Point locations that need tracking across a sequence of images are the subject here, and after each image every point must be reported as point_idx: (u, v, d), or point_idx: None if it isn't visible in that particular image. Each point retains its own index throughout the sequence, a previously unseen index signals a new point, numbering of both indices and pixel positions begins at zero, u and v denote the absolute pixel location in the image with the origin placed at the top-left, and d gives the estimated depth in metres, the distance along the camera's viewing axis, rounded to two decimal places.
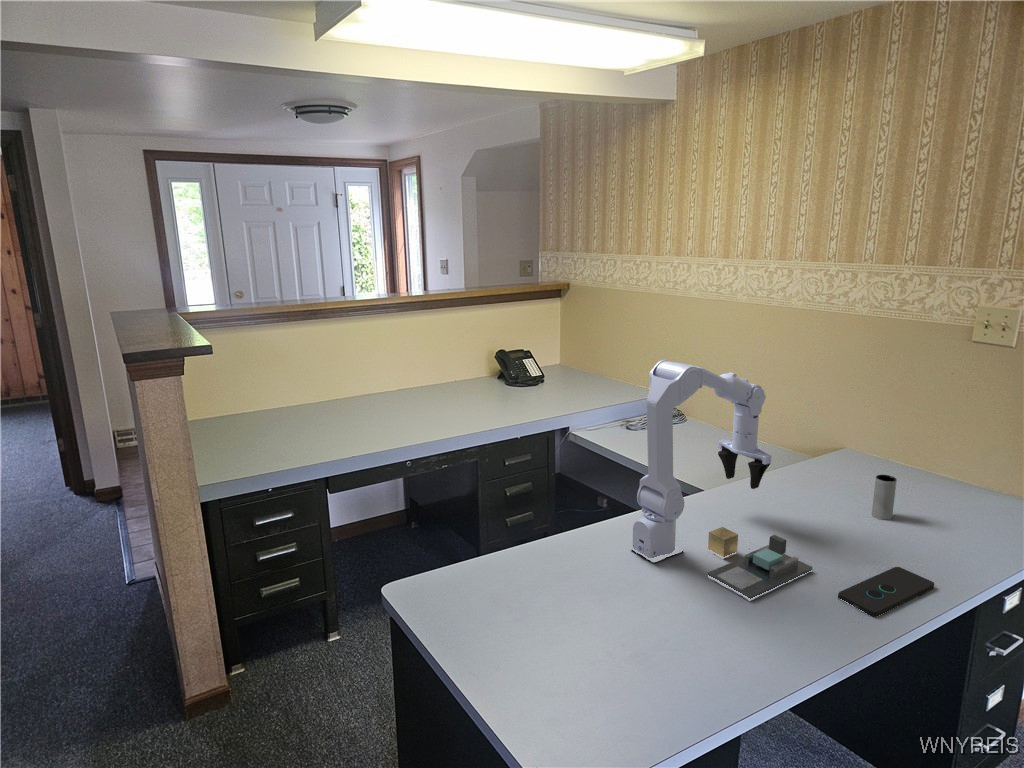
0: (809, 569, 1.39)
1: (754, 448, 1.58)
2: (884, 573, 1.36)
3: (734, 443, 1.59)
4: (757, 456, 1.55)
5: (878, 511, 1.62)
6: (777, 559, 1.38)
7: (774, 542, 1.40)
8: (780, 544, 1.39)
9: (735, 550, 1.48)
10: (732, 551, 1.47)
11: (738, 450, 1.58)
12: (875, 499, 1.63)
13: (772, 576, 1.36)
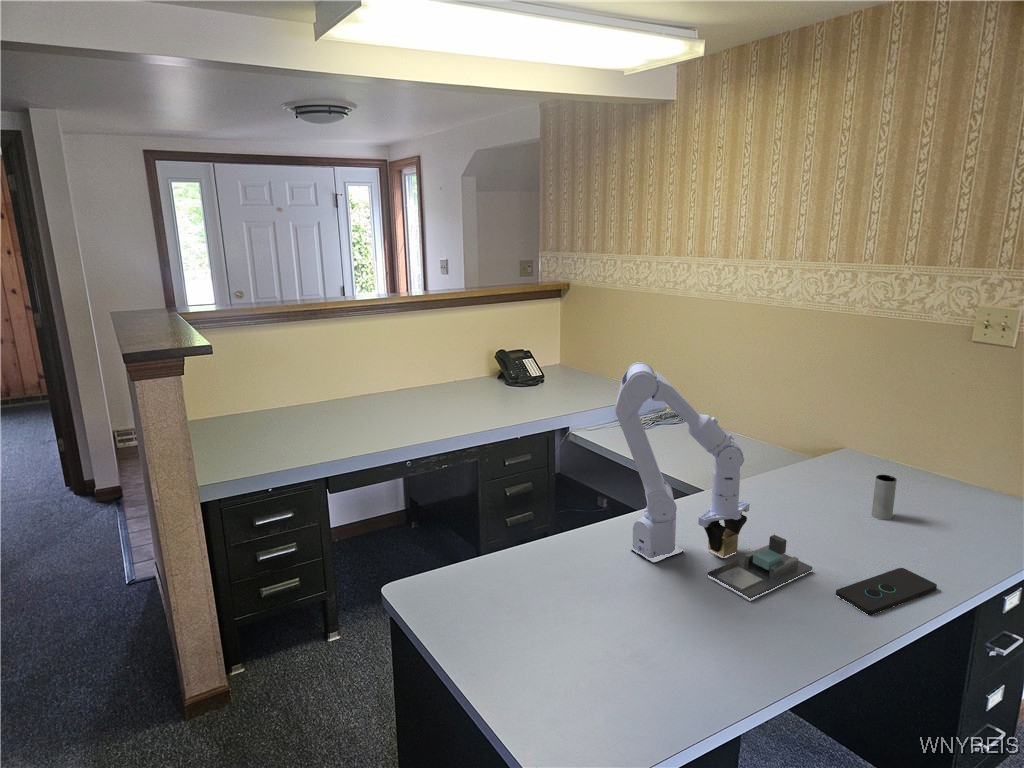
0: (809, 569, 1.39)
1: (717, 511, 1.44)
2: (886, 573, 1.36)
3: None
4: None
5: (878, 511, 1.62)
6: (777, 559, 1.38)
7: (774, 542, 1.40)
8: (780, 544, 1.39)
9: (736, 550, 1.48)
10: (732, 551, 1.47)
11: None
12: (875, 499, 1.63)
13: (772, 576, 1.36)
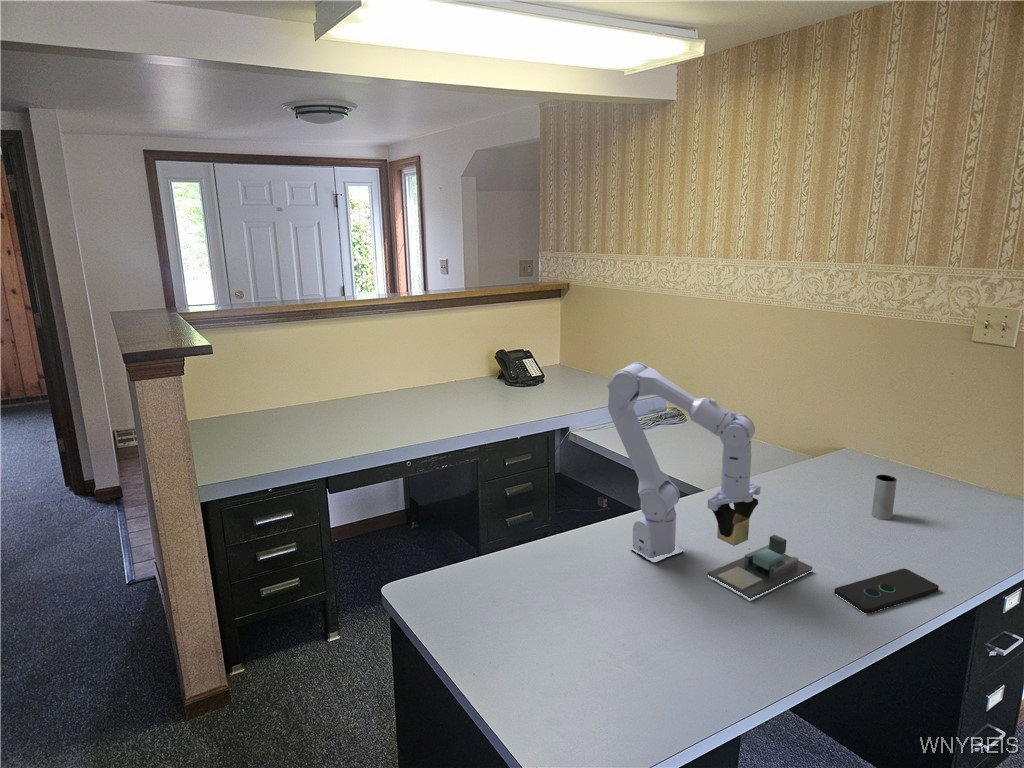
0: (809, 569, 1.39)
1: (727, 493, 1.36)
2: (888, 573, 1.36)
3: None
4: None
5: (878, 511, 1.62)
6: (777, 559, 1.38)
7: (774, 542, 1.40)
8: (780, 544, 1.39)
9: (746, 536, 1.40)
10: (743, 536, 1.39)
11: None
12: (875, 499, 1.63)
13: (772, 576, 1.36)
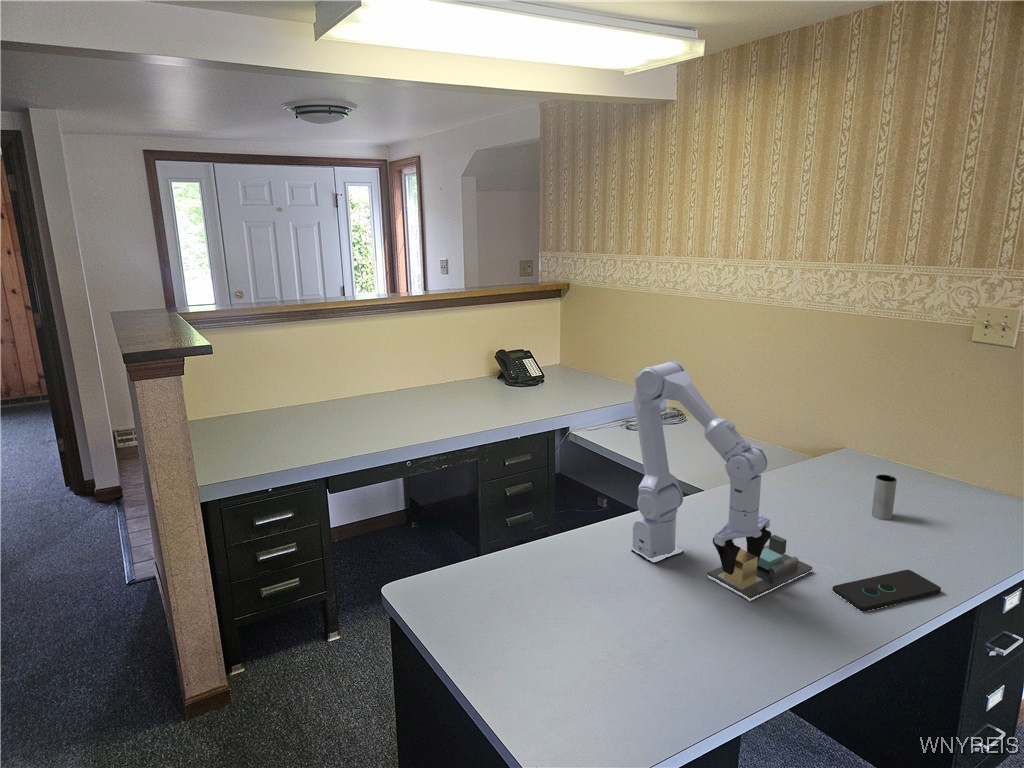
0: (809, 569, 1.39)
1: (734, 527, 1.31)
2: (891, 574, 1.36)
3: None
4: None
5: (878, 511, 1.62)
6: (777, 559, 1.38)
7: (774, 542, 1.40)
8: (780, 544, 1.39)
9: (755, 574, 1.34)
10: (751, 575, 1.34)
11: None
12: (875, 499, 1.63)
13: (772, 576, 1.36)
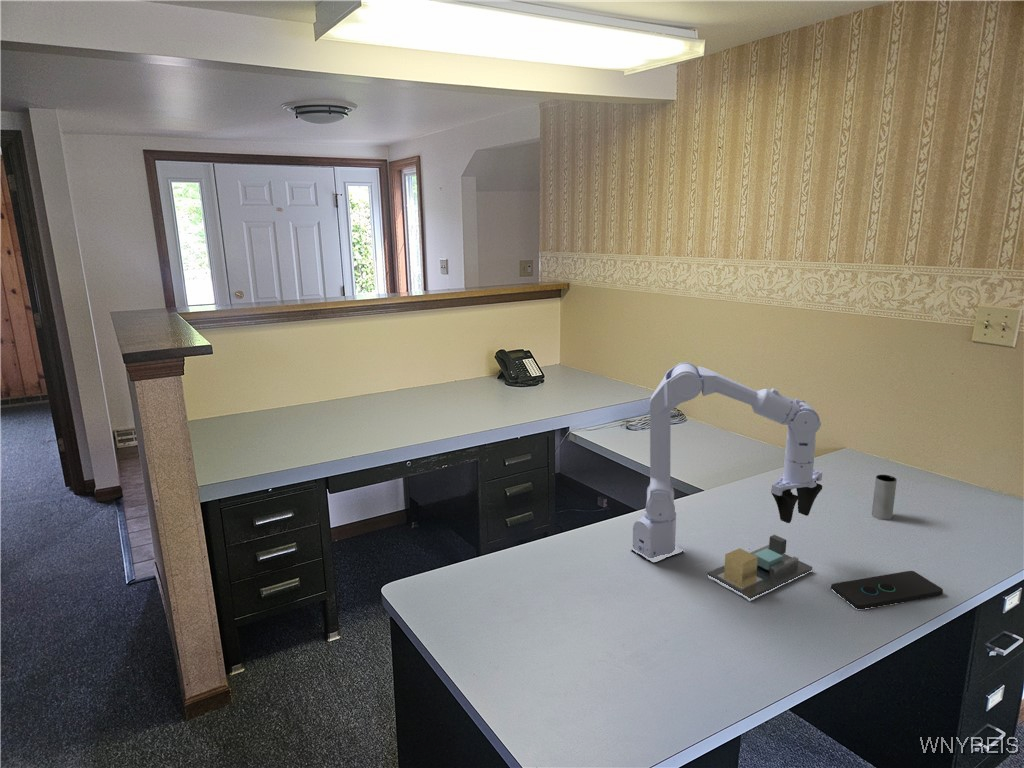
0: (809, 569, 1.39)
1: (790, 479, 1.38)
2: (893, 574, 1.36)
3: None
4: None
5: (878, 511, 1.62)
6: (777, 559, 1.38)
7: (774, 542, 1.40)
8: (780, 544, 1.39)
9: (755, 574, 1.34)
10: (751, 575, 1.34)
11: None
12: (875, 499, 1.63)
13: (772, 576, 1.36)
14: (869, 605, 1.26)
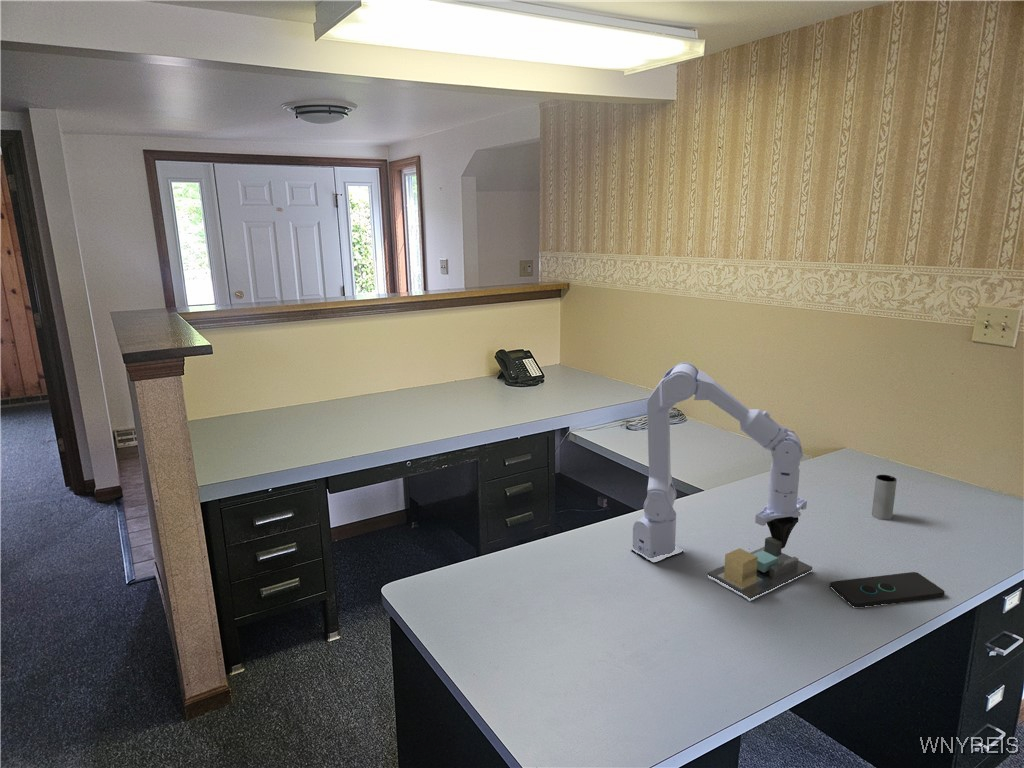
0: (809, 569, 1.39)
1: (774, 508, 1.37)
2: (895, 575, 1.36)
3: None
4: None
5: (878, 511, 1.62)
6: (773, 561, 1.37)
7: (769, 544, 1.39)
8: (775, 546, 1.38)
9: (755, 574, 1.34)
10: (751, 575, 1.34)
11: None
12: (875, 499, 1.63)
13: (772, 576, 1.36)
14: (866, 603, 1.27)
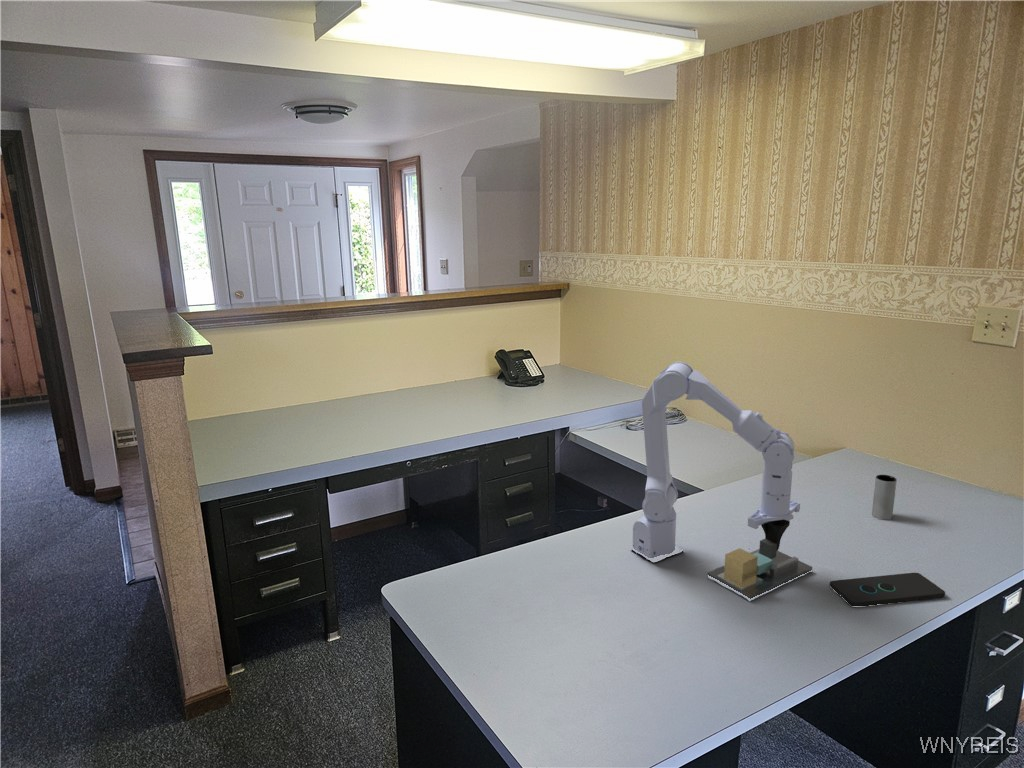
0: (809, 569, 1.39)
1: (767, 511, 1.36)
2: (896, 575, 1.35)
3: None
4: None
5: (878, 511, 1.62)
6: (768, 563, 1.37)
7: (764, 546, 1.39)
8: (770, 548, 1.37)
9: (755, 574, 1.34)
10: (751, 575, 1.34)
11: None
12: (875, 499, 1.63)
13: (772, 576, 1.36)
14: (865, 603, 1.27)
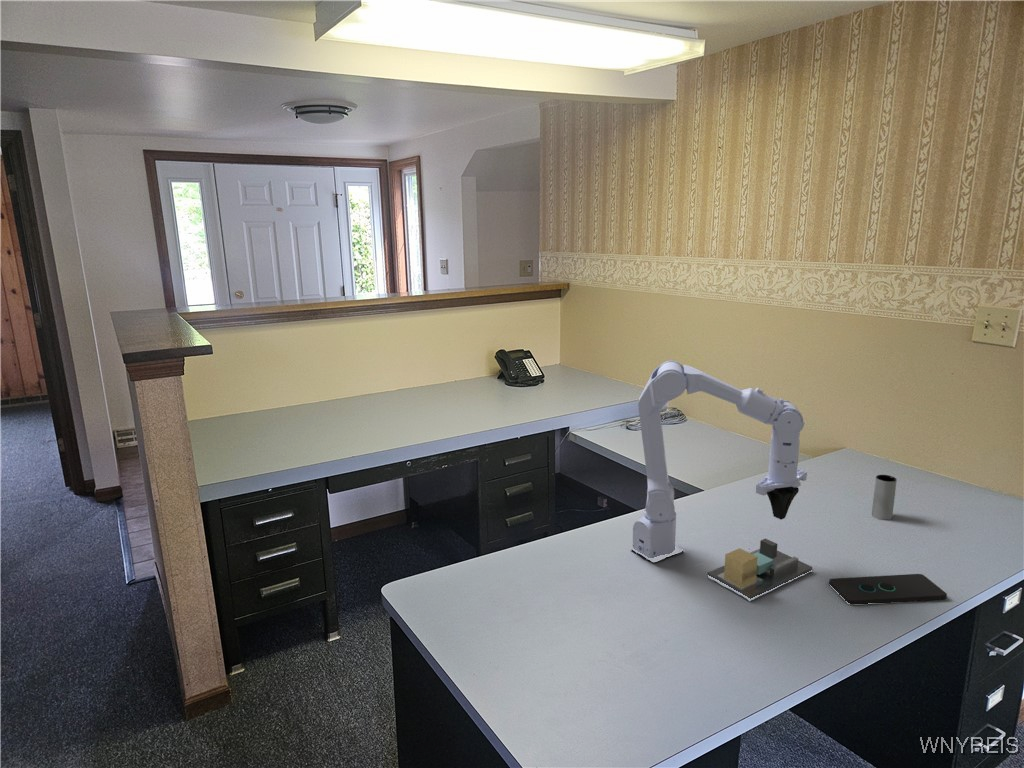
0: (809, 569, 1.39)
1: (775, 478, 1.38)
2: (899, 575, 1.35)
3: None
4: None
5: (878, 511, 1.62)
6: (768, 563, 1.37)
7: (765, 546, 1.39)
8: (771, 548, 1.37)
9: (755, 574, 1.34)
10: (751, 575, 1.34)
11: None
12: (875, 499, 1.63)
13: (772, 576, 1.36)
14: (862, 601, 1.27)
